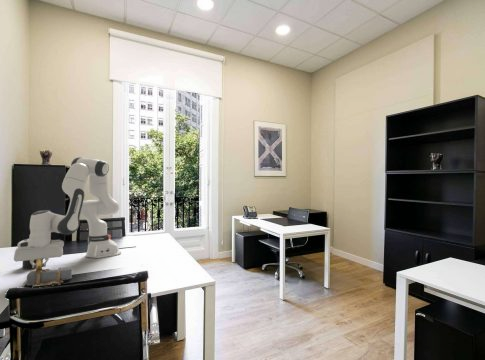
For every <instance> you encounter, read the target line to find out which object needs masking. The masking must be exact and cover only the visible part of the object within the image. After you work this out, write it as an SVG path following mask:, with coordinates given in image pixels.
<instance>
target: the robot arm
mask: <svg viewBox="0 0 485 360" xmlns="http://www.w3.org/2000/svg"><path fill="white" fill-rule="evenodd" d="M109 171H110V166H109V163H108V162H107V161H105V160H102V159H97V158H92V157H91V158H90V157H80V156H78V157H75V158H74V159H73V160H72V161H71V165H70V168H69V169H68V170H67V172H66V174H65V177H64V178H63V181H62V183H61V189H62V192H63V193H65V194H66V195H68V197H69V205H68V209H67V212H66V214H65V215H62V214H59V213H58V214H57V213H54V212H52V211H51V210H50V209H46V210H45V209H43V210H42V209H41V210H37V211H35V212H33V213H31V215H30V220H29V231H30V234H29V238H26V239H23V240H21V241H19V242H18V243H17V246H16V247H17V248H16V249H15V250H14V255H13V261H14V262H16V263H17V262H23V261H27V260H30V263H31V264H32V268H35V269H36V264H34V262H33V261H34V260H36V259H43V260H44V262H43V263H42V268H46V266H47V262H48V261H49V259H51V258H52V259H53V258H61V257H62V256H63V255H64V249H63V247H64V245H65V242H64V240H61V239H51V236H52V234H51V233H57V234H61V235H64V236H65V235H66V236H69V235H72V234H75V233H76V232H77V230H79V227H80V217H81V216H82V217H83V218H84V219H85V220H86V221H87V224H88V236H87V244H88V245H87V251H86V254H85V257H87V258H93V259H102V258H107V257H113V256H119V255H121V254H122V249H120V248H119V246H118V244H117V242H115V241H114V240H112V239H111V238H112V236H111V234H108V223H107V222H106V221H104V220H102V219H100V217H98V216H111V215H115V214H117V213H119V210H120V204H119V203H118V201H116V200H115V199H113V197H112V196H111V194H110V193H109V182H108V180H109V178H108V173H109ZM88 177H89V179H88ZM87 181H88V182H89V183H88V185H89V186H88V187H89V193H90V194H91V195H92V196H93V197H96V198H97V199H87V200H84V199H85V186H86V185H87Z"/></svg>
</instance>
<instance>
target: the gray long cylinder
mask: <svg viewBox="0 0 485 360" xmlns="http://www.w3.org/2000/svg"><path fill="white" fill-rule="evenodd" d="M58 271H60V280H64V281H65V280H71V279H72V278H73V267H67V268H61V269H49V270H48V271H41V272H30V271H29V272H28V274H27V275H26V286H33V285H35V284H36V282H37V274H40V283H45V282H52V281H57V272H58Z"/></svg>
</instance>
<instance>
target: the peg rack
mask: <svg viewBox="0 0 485 360" xmlns="http://www.w3.org/2000/svg"><path fill="white" fill-rule="evenodd" d="M58 269H62V267H59V268H58ZM41 271H42V270H40V271H39V272H41ZM59 282H63V283H64V281H63V280H60V271H58V272H57V281H52V282H45V283H40V274H37V282H36V284H35V285H32V287H33V286H40V285H50V284H52V283H59Z"/></svg>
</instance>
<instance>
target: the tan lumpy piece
mask: <svg viewBox="0 0 485 360" xmlns="http://www.w3.org/2000/svg"><path fill="white" fill-rule="evenodd" d="M48 270H50V268H42V271H48ZM29 272H36V269H35V270H34V269H33V270H30V271H29Z"/></svg>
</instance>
